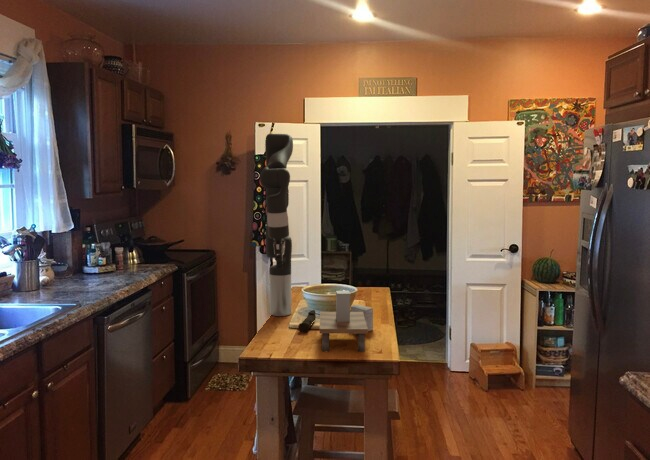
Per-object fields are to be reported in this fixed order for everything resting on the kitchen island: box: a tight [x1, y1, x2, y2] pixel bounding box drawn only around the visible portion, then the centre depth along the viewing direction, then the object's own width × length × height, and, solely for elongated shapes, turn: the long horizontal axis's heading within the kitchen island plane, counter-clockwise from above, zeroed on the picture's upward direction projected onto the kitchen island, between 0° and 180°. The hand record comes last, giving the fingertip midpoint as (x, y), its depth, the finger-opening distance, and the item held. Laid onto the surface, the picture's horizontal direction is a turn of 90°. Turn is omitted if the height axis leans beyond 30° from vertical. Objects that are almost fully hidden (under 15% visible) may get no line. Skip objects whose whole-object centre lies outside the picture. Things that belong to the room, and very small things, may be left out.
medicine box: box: [350, 304, 374, 332], centre depth 200 cm, size 8×4×9 cm, turn 43°
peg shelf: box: [319, 311, 369, 353], centre depth 184 cm, size 22×16×8 cm
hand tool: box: [297, 309, 316, 334], centre depth 205 cm, size 19×4×5 cm, turn 166°
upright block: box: [335, 290, 351, 322], centre depth 183 cm, size 4×4×10 cm
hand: (280, 266), depth 193 cm, fingers open, 8 cm apart
